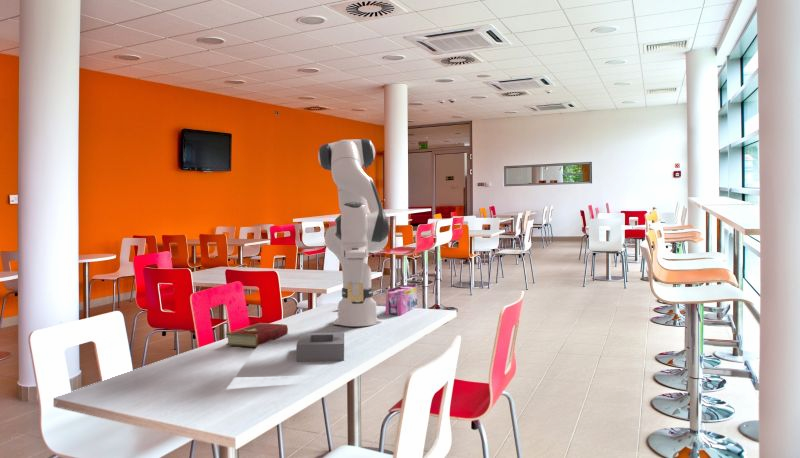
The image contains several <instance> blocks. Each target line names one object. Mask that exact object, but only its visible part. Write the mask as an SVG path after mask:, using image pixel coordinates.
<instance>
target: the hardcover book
mask: <svg viewBox="0 0 800 458" xmlns="http://www.w3.org/2000/svg"><path fill="white" fill-rule="evenodd" d="M288 333H289V327H288V324H285V323H267V322H265V323H263V322H258V323H255V324H252V325H248V326H246V327H243V328H239V329H235V330H234V331H233V330H232V331H229V332H226V333H225V334H226V335H227V343H225V344H226V346H237V347H248V348H249V347H251V348H256V347H258V346H260V345H263V344H264V343H267V342H269V341H275V340H278V339H279V338H282V337H284V336H286V335H288Z"/></svg>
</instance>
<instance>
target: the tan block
mask: <svg viewBox="0 0 800 458" xmlns="http://www.w3.org/2000/svg"><path fill="white" fill-rule="evenodd" d="M347 285H348V302H358V301H363V282H360V283H359V287H358V295H353V289H352V283H351V282H347Z"/></svg>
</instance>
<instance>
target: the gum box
mask: <svg viewBox="0 0 800 458" xmlns="http://www.w3.org/2000/svg"><path fill="white" fill-rule="evenodd" d="M418 294H419V293H418V285H410V284H409V285H407V284H406V285H404V284H402V285H398V286H396V287H391V288H389V289H386V291H385V315H386V314H387V315H386V316H403V315H404V314H406V313H408V312H410V311H412V310H413V309H415V308H416V307H418V306H419V303H418V302H419V301H418V296H419V295H418ZM390 314H391V315H390Z"/></svg>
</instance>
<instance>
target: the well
mask: <svg viewBox="0 0 800 458" xmlns="http://www.w3.org/2000/svg"><path fill="white" fill-rule="evenodd" d="M295 350H296V362H297V363H298V362H299V363H301V362H302V363H303V362H335V361H337V362H339V361H341V362H342V361H345V332H336V331H335V332H306V333H304V332H303V333H302V332H301V333H300V335H299V338H298V340H297V343H296V349H295Z"/></svg>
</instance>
